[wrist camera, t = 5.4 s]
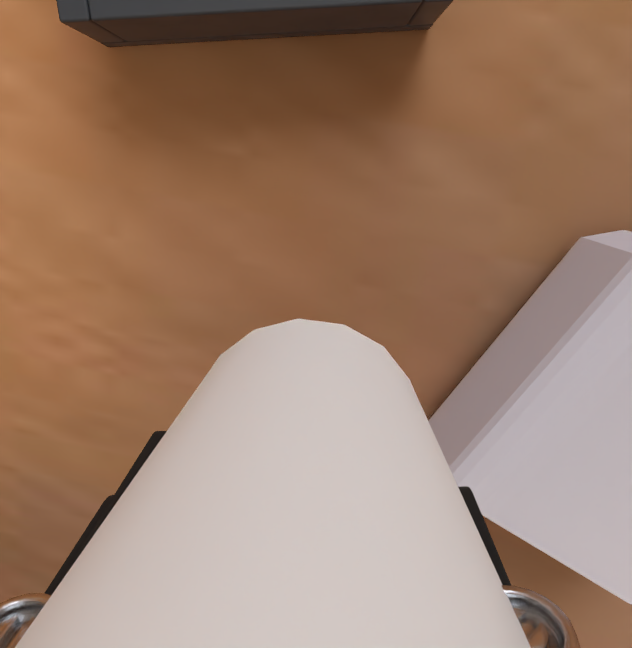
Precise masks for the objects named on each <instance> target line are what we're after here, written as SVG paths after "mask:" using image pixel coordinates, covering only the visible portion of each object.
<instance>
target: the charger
mask: <svg viewBox="0 0 632 648" xmlns="http://www.w3.org/2000/svg"><path fill="white" fill-rule="evenodd" d="M428 422H429V424H430V426H431V428H432V431H433V433H434V435H435V437H436V439H437V442H438V444H439V446H440V448H441V450H442V453H443V455H444V457H445V459H446V461H447V464H448V466H449V468H450V470H451V472H452V475H453V477H454V479H455V481H456V483H457V486H458V487H462V486H468V487H469V488H470V489H471V491H472V492H473V495H474V497H475V499H476V502H477V504H478V507H479V509H480V511H481V514H482V515H483V516H485V517H486V518H488V519H489V520H491V521H493V522H494V523H496V524H498V525H499V526H501V527H503V528H504V529H506V530H508V531H509V532H511V533H513V534H514V535H516V536H518V537H519V538H521V539H523V540H524V541H526V542H528V543H529V544H531V545H533V546H534V547H536V548H538V549H539V550H541V551H543V552H544V553H546V554H548V555H549V556H551V557H553V558H554V559H556V560H558V561H559V562H561V563H563V564H564V565H566V566H567V567H569V568H571V569H572V570H574V571H576V572H577V573H579V574H581V575H582V576H584V577H586V578H587V579H589V580H591V581H592V582H594V583H596V584H597V585H599V586H601V587H602V588H604V589H606V590H607V591H609V592H611V593H612V594H614V595H616V596H617V597H619V598H621V599H622V600H624V601H626V602H628V603H629V604H631V605H632V232H630V231H626V230H620V231H614V232H608V233H603V234H597V235H591V236H586V237H580V238H579V239H578V240H577V242H576V243H575V244H574V245H573V246H572V248H571V249H570V250H569V251H568V252H567V254H566V255H565V256H564V257H563V258H562V260H561V261H560V262H559V263H558V265H557V266H556V267H555V268H554V269H553V271H552V272H551V273H550V274H549V275H548V277H547V278H546V279H545V280H544V281H543V283H542V284H541V285H540V286H539V287H538V289H537V290H536V291H535V292H534V294H533V295H532V296H531V297H530V298H529V300H528V301H527V302H526V303H525V304H524V306H523V307H522V308H521V309H520V310H519V312H518V313H517V314H516V315H515V316H514V318H513V319H512V320H511V321H510V323H509V324H508V325H507V326H506V327H505V329H504V330H503V331H502V332H501V333H500V335H499V336H498V337H497V338H496V339H495V341H494V342H493V343H492V344H491V345H490V347H489V348H488V349H487V350H486V351H485V353H484V354H483V355H482V356H481V358H480V359H479V360H478V361H477V362H476V364H475V365H474V366H473V367H472V368H471V370H470V371H469V372H468V373H467V374H466V376H465V377H464V378H463V379H462V380H461V382H460V383H459V384H458V385H457V387H456V388H455V389H454V390H453V391H452V393H451V394H450V395H449V396H448V397H447V399H446V400H445V401H444V402H443V403H442V405H441V406H440V407H439V408H438V409H437V411H436V412H435V413H434V414H433V416H432V417H431V418H430V419H429V420H428Z"/></svg>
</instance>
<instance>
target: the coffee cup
mask: <svg viewBox="0 0 632 648" xmlns="http://www.w3.org/2000/svg"><path fill="white" fill-rule="evenodd" d="M501 585H502V583H501V581H500V578H499V576H498V574H497V572H496V569H495V567H494V565H493V563H492V561H491V558H490V556H489V554H488V552H487V550H486V547H485V545H484V543H483V541H482V539H481V536H480V534H479V532H478V530H477V528H476V525H475V523H474V521H473V519H472V517H471V514H470V512H469V510H468V508H467V506H466V503H465V501H464V499H463V497H462V494H461V492H460V490H459V488H458V486H457V483H456V481H455V479H454V477H453V475H452V472H451V470H450V468H449V466H448V464H447V461H446V459H445V457H444V455H443V453H442V450H441V448H440V446H439V444H438V442H437V439H436V437H435V435H434V433H433V431H432V428H431V426H430V424H429V422H428V419H427V417H426V415H425V413H424V411H423V408H422V406H421V404H420V402H419V400H418V397H417V395H416V393H415V391H414V389H413V386H412V384H411V382H410V379H409V378H408V377H407V376H406V374H405V373H404V372H403V370H402V369H401V368H400V367H399V365H398V364H397V363H396V362H395V360H394V359H393V358H392V356H391V355H390V354H389V353H388V351H387V350H386V349H385V347H384V346H382V345H380V344H378V343H377V342H375V341H373V340H371V339H369V338H368V337H366V336H364V335H362V334H360V333H359V332H357V331H355V330H353V329H351V328H350V327H348V326H346V325H344V324H336V323H328V322H321V321H313V320H305V319H295V320H291V321H287V322H283V323H279V324H275V325H271V326H267V327H263V328H259V329H255V330H253V331H252V332H250V333H249V334H248V335H246V336H245V337H244V338H242V339H241V340H240V341H238V342H237V343H236V344H234V345H233V346H232V347H230V348H229V349H228V350H226V351H225V352H224V353H222V354H221V355H220V356H219V358H218V359H217V361H216V362H215V363H214V365H213V366H212V368H211V369H210V371H209V372H208V373H207V375H206V376H205V378H204V379H203V380H202V382H201V383H200V385H199V386H198V388H197V389H196V390H195V392H194V393H193V395H192V396H191V398H190V399H189V400H188V402H187V403H186V405H185V406H184V408H183V409H182V410H181V412H180V413H179V415H178V416H177V418H176V419H175V420H174V422H173V423H172V425H171V426H170V427H169V429H168V430H167V432H166V433H165V435H164V436H163V437H162V439H161V440H160V442H159V443H158V445H157V446H156V447H155V449H154V450H153V452H152V453H151V455H150V456H149V457H148V459H147V460H146V462H145V463H144V464H143V466H142V467H141V469H140V470H139V472H138V473H137V474H136V476H135V477H134V479H133V480H132V482H131V483H130V484H129V486H128V487H127V489H126V490H125V492H124V493H123V494H122V496H121V497H120V499H119V500H118V501H117V503H116V504H115V506H114V507H113V509H112V510H111V511H110V513H109V514H108V516H107V517H106V519H105V520H104V521H103V523H102V524H101V526H100V527H99V529H98V530H97V531H96V533H95V534H94V536H93V537H92V538H91V540H90V541H89V543H88V544H87V546H86V547H85V548H84V550H83V551H82V553H81V554H80V556H79V557H78V558H77V560H76V561H75V563H74V564H73V566H72V567H71V568H70V570H69V571H68V573H67V574H66V575H65V577H64V578H63V580H62V581H61V583H60V584H59V585H58V587H57V588H56V590H55V591H54V593H53V594H52V595H51V597H50V598H49V600H48V601H47V603H46V604H45V605H44V607H43V608H42V610H41V611H40V612H39V614H38V615H37V617H36V618H35V620H34V621H33V622H32V624H31V625H30V627H29V628H28V630H27V631H26V632H25V634H24V635H23V637H22V638H21V640H20V641H19V642H18V644H17V645H16V647H15V648H531V647H530V645H529V643H528V640H527V638H526V636H525V633H524V631H523V629H522V627H521V625H520V622H519V620H518V619H517V616H516V614H515V612H514V610H513V607H512V605H511V603H510V600H509V598H508V597H507V595H506V594H505V593H504V591H503V588H502V586H501Z"/></svg>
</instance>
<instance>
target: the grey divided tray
mask: <svg viewBox="0 0 632 648" xmlns="http://www.w3.org/2000/svg"><path fill="white" fill-rule="evenodd" d="M56 1H57V7H58V12H59V18H60V21H61V22H62V23H64V24H66V25H68V26H70V27H72V28H73V29H75V30H77V31H79V32H81V33H83V34H85V35H87V36H89V37H91V38H93V39H95V40H97V41H99V42H101V43H102V44H104V45H106V46H108V47H117V46H135V45H153V44H171V43H189V42H207V41H225V40H243V39H261V38H279V37H297V36H315V35H333V34H351V33H369V32H387V31H405V30H424V29H430V27H431V26H432V25H433V23H434V22H435V21H436V20H437V18H438V17H439V16H440V15H441V14H442V13H443V12H444V10H445V9H446V8H447V7H448V6H449V5H450V4H451V2H452V1H453V0H56Z"/></svg>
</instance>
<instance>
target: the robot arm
mask: <svg viewBox="0 0 632 648" xmlns="http://www.w3.org/2000/svg"><path fill="white" fill-rule="evenodd" d="M166 432H167V431H156V432H154V433H153V434H152V436H151V438H150V439H149V441H148V442H147V444H146V446H145V447H144V449H143V450H142V452H141V454H140V455H139V457H138V458H137V460H136V461H135V463H134V465H133V466H132V468H131V469H130V471H129V473H128V474H127V476H126V477H125V479H124V480H123V482H122V484H121V485H120V487H119V488H118V490H117V492H116V493H115V495H111V496H109V497H108V498H107V499H106V500H105V501H104V502H103V504H102V505H101V507H100V508H99V510H98V512H97V513H96V515H95V516H94V518H93V519H92V521H91V522H90V524H89V525H88V527H87V528H86V530H85V532H84V533H83V535H82V536H81V538H80V539H79V541H78V542H77V544H76V545H75V547H74V549H73V550H72V552H71V553H70V555H69V556H68V558H67V559H66V561H65V562H64V564H63V566H62V567H61V569H60V570H59V572H58V573H57V575H56V576H55V578H54V579H53V581H52V582H51V584H50V586H49V587H48V589H47V590H46V592H45V593H29V594H24V595H20V596H17V597H13V598H10V599H8V600H6V601H4V602H2V603H0V648H15V647H16V645H17V644H18V642H19V641H20V640H21V638H22V637H23V635H24V634H25V632H26V631H27V630H28V628H29V627H30V625H31V624H32V622H33V621H34V620H35V618H36V617H37V615H38V614H39V612H40V611H41V610H42V608H43V607H44V605H45V604H46V603H47V601H48V600H49V598H50V597H51V595H52V594H53V593H54V591H55V590H56V588H57V587H58V585H59V584H60V583H61V581H62V580H63V578H64V577H65V575H66V574H67V573H68V571H69V570H70V568H71V567H72V566H73V564H74V563H75V561H76V560H77V558H78V557H79V556H80V554H81V553H82V551H83V550H84V548H85V547H86V546H87V544H88V543H89V541H90V540H91V538H92V537H93V536H94V534H95V533H96V531H97V530H98V529H99V527H100V526H101V524H102V523H103V521H104V520H105V519H106V517H107V516H108V514H109V513H110V511H111V510H112V509H113V507H114V506H115V504H116V503H117V501H118V500H119V499H120V497H121V496H122V494H123V493H124V492H125V490H126V489H127V487H128V486H129V484H130V483H131V482H132V480H133V479H134V477H135V476H136V474H137V473H138V472H139V470H140V469H141V467H142V466H143V464H144V463H145V462H146V460H147V459H148V457H149V456H150V455H151V453H152V452H153V450H154V449H155V447H156V446H157V445H158V443H159V442H160V440H161V439H162V437H163V436H164V435H165V433H166ZM458 488H459V490H460V492H461V494H462V497H463V499H464V501H465V503H466V506H467V508H468V510H469V512H470V514H471V517H472V519H473V521H474V523H475V525H476V528H477V530H478V532H479V534H480V536H481V539H482V541H483V543H484V545H485V547H486V550H487V552H488V554H489V556H490V558H491V561H492V563H493V565H494V567H495V569H496V572H497V574H498V576H499V578H500V581H501V583H502V585H501V586H502V588H503V591H504V593H505V594H506V595H507V597H508V598H509V600H510V603H511V605H512V607H513V610H514V612H515V614H516V616H517V619H518V620H519V622H520V625H521V627H522V629H523V631H524V633H525V636H526V638H527V640H528V643H529V645H530V647H531V648H580V645H579V642H578V638H577V635H576V632H575V630H574V628H573V626H572V624H571V622H570V620H569V619H568V617H567V616H566V615H565V614H564V613H563V612H562V610H561V609H560V608H559V607H558V606H557V605H555V604H554V603H553V602H551V601H550V600H549V599H547V598H546V597H544V596H542V595H540V594H538V593H536V592H534V591H532V590H529V589H526V588H521V587H517V586H511V584H510V581H509V579H508V576H507V574H506V572H505V569H504V567H503V564H502V562H501V560H500V557H499V555H498V552H497V550H496V548H495V545H494V543H493V540H492V538H491V535H490V533H489V531H488V528H487V526H486V523H485V521H484V519H483V516H482V514H481V511H480V509H479V507H478V504H477V502H476V499H475V497H474V495H473V492H472V491H471V489H470V488H469V487H468V486H462V487H458Z"/></svg>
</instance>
